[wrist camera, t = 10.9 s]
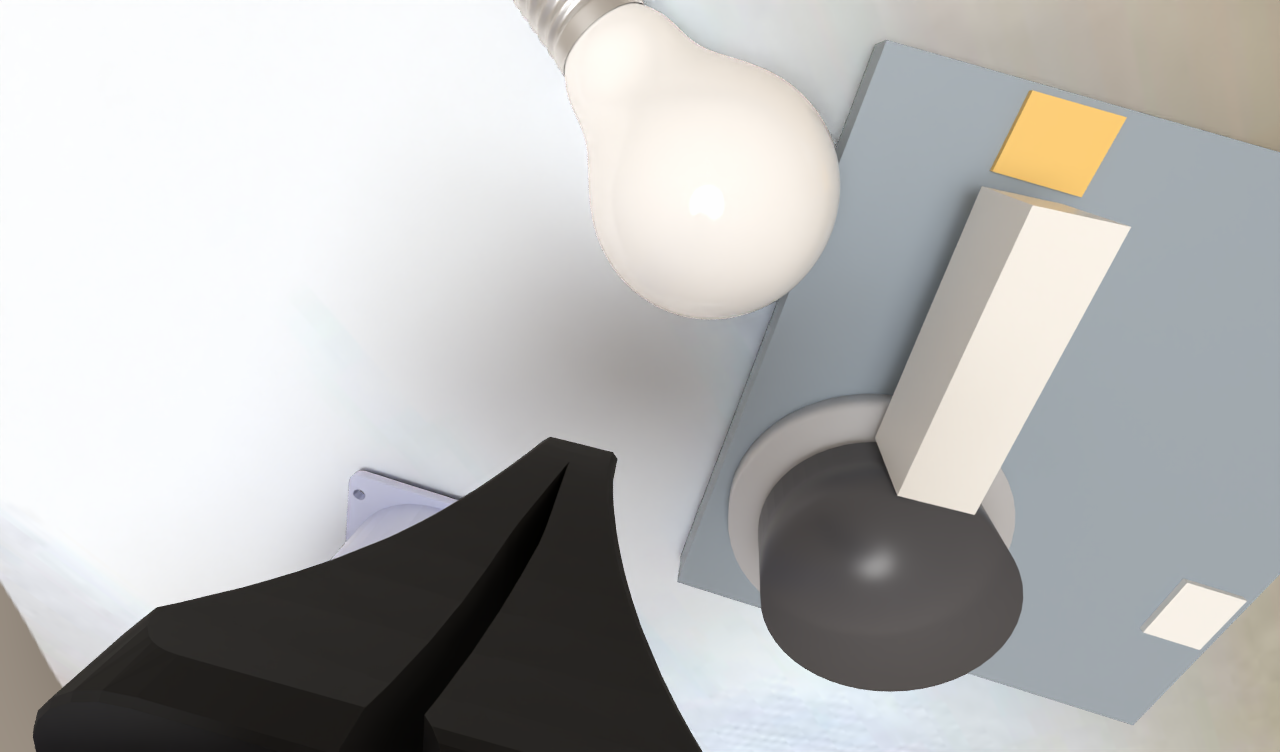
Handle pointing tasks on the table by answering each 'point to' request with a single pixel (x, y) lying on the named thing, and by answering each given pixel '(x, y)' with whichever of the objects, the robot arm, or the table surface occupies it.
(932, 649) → the cap
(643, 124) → the lightbulb
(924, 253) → the base
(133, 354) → the table surface
